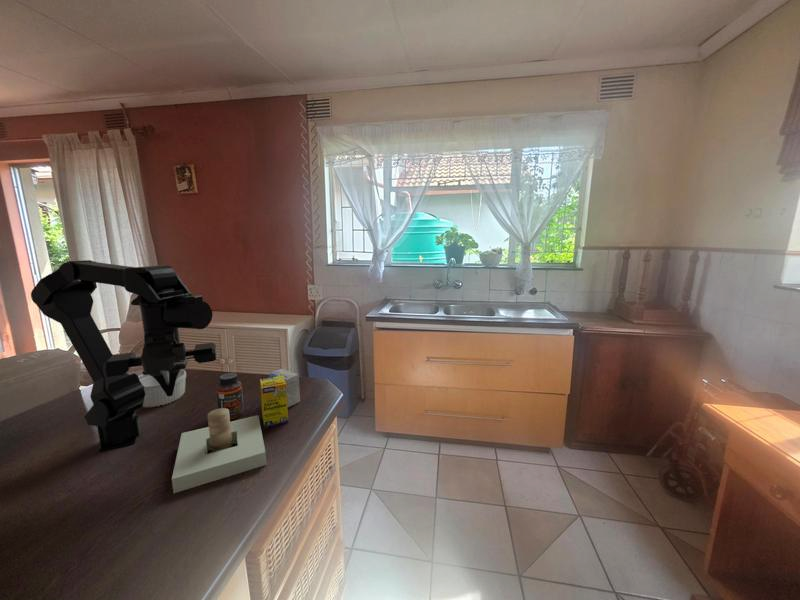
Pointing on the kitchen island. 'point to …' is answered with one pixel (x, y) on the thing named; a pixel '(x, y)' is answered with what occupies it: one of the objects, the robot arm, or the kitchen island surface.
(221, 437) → the wooden peg
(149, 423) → the kitchen island surface
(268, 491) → the kitchen island surface
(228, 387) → the supplement bottle
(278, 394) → the supplement box
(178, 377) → the ramekin
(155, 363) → the robot arm
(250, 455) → the socket plate
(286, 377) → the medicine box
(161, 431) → the kitchen island surface
